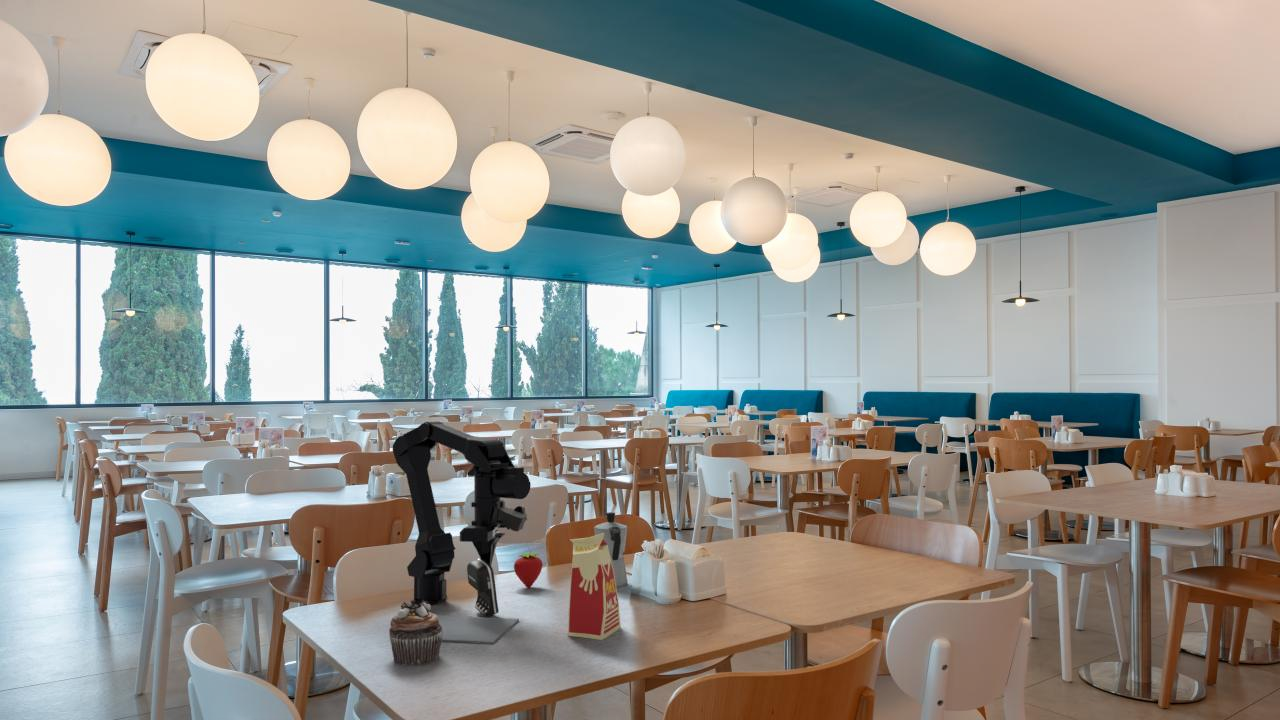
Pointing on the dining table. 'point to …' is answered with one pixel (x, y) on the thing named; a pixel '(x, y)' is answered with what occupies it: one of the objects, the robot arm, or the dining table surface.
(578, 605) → the milk carton
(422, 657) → the cupcake
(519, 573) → the strawberry
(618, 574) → the coffee maker
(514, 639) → the dining table surface
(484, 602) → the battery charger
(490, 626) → the mat
